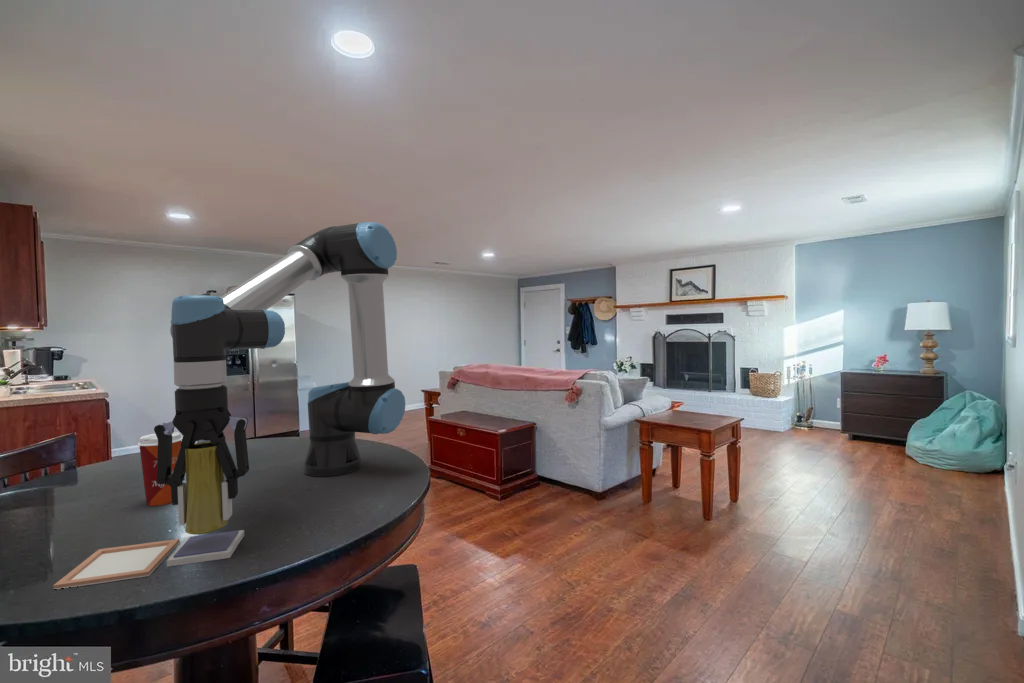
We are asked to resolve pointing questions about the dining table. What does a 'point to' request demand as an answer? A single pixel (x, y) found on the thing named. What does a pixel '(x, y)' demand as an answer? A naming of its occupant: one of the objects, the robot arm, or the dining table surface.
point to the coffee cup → (149, 455)
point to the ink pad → (206, 548)
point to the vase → (203, 489)
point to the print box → (118, 564)
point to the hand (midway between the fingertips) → (206, 519)
